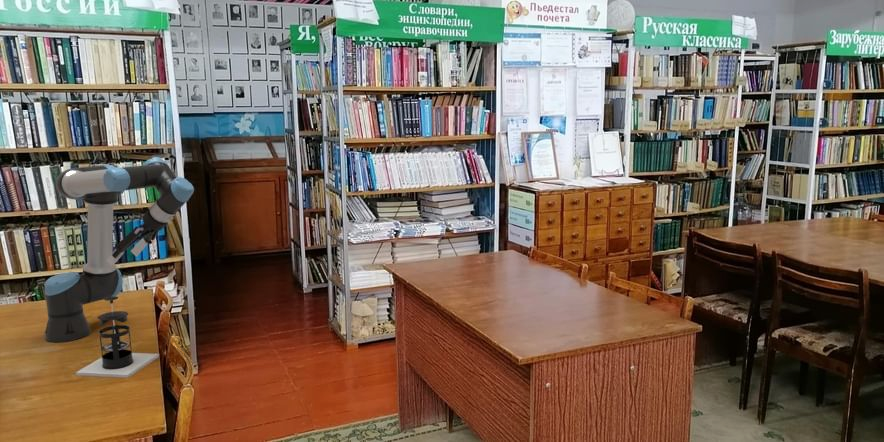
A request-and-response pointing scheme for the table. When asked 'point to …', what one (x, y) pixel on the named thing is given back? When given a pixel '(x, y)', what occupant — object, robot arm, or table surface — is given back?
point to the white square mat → (138, 363)
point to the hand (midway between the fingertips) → (122, 258)
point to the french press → (115, 340)
